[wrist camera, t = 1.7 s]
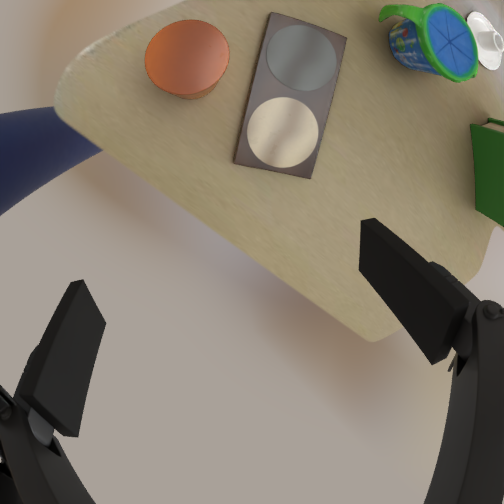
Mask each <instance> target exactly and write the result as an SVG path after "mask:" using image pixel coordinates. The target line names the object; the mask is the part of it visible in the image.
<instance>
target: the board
mask: <svg viewBox="0 0 504 504" xmlns="http://www.w3.org/2000/svg"><path fill="white" fill-rule="evenodd" d="M346 40H347V38H346V37H344V36H342V35H339V34H337V33H334V32H332V31H329V30H327V29H324V28H321V27H318V26H316V25H313V24H310V23H307V22H304V21H301V20H298V19H295V18H292V17H288V16H285V15H281V14H278V13H274V12H271V13H270V14H269V17H268V20H267V24H266V28H265V31H264V35H263V39H262V43H261V46H260V50H259V54H258V58H257V62H256V66H255V70H254V74H253V78H252V82H251V86H250V90H249V94H248V98H247V102H246V107H245V111H244V115H243V120H242V124H241V128H240V133H239V137H238V142H237V146H236V151H235V155H234V160H233V162H234V164H238V165H244V166H249V167H254V168H260V169H265V170H270V171H275V172H280V173H285V174H289V175H294V176H298V177H303V178H307V179H311V176H312V173H313V169H314V166H315V162H316V158H317V155H318V151H319V148H320V144H321V140H322V136H323V133H324V129H325V125H326V121H327V118H328V114H329V110H330V106H331V102H332V98H333V94H334V90H335V86H336V82H337V78H338V74H339V70H340V66H341V62H342V57H343V53H344V49H345V44H346Z"/></svg>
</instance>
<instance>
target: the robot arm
mask: <svg viewBox="0 0 504 504" xmlns="http://www.w3.org/2000/svg"><path fill="white" fill-rule="evenodd" d="M359 271H360V272H361V273H362V275H363V276H364V277H365V278H366V279H367V281H368V282H369V283H370V284H371V286H372V287H373V288H374V289H375V291H376V292H377V293H378V294H379V295H380V297H381V298H382V299H383V301H384V302H385V303H386V304H387V306H388V307H389V308H390V309H391V311H392V312H393V313H394V315H395V316H396V317H397V318H398V320H399V321H400V322H401V324H402V325H403V326H404V327H405V329H406V330H407V332H408V333H409V334H410V336H411V337H412V338H413V340H414V341H415V342H416V344H417V345H418V346H419V348H420V349H421V351H422V352H423V353H424V355H425V356H426V358H427V359H428V360H429V362H430V363H431V365H433V364H436V363H437V362H439V361H441V360H443V359H445V358H447V356H448V354H449V352H450V350H451V348H452V347H453V349H454V350H455V351H456V354H455V356H454V358H453V360H452V362H451V364H450V366H449V369H448V372H450V371H451V369H452V367H453V376H452V385H451V393H450V401H449V407H448V413H447V419H446V424H445V430H444V434H443V439H442V444H441V448H440V452H439V456H438V460H437V464H436V467H435V471H434V474H433V478H432V481H431V484H430V487H429V490H428V493H427V496H426V499H425V501H424V504H502V500H503V496H504V308H502V307H501V305H499V304H498V303H496V302H494V301H491V300H484V301H480V300H479V299H478V298H477V297H476V296H475V295H474V294H473V293H471V292H470V291H469V290H468V289H467V288H466V287H465V286H464V285H463V284H462V283H461V282H460V281H458V279H457V278H455V277H454V276H453V275H451V273H450V272H449V271H448V270H447V269H445V268H444V267H443V266H441V265H439V264H437V263H435V262H433V261H432V262H427V261H426V260H425V259H424V258H423V257H422V256H421V255H419V254H418V253H417V252H416V251H415V250H414V249H412V248H411V247H410V246H409V245H408V244H406V243H405V242H404V241H403V240H402V239H400V238H399V237H398V236H397V235H396V234H394V233H393V232H392V231H391V230H389V229H388V228H387V227H386V226H384V225H383V224H382V223H381V222H379V221H378V220H377V219H376V218H371V219H366V220H361V232H360V257H359ZM105 325H106V322H105V320H104V318H103V316H102V314H101V313H100V311H99V309H98V307H97V306H96V303H95V302H94V300H93V298H92V296H91V294H90V292H89V290H88V288H87V286H86V284H85V282H84V280H78V281H74V282H71V283H70V285H69V286H68V288H67V290H66V292H65V293H64V295H63V297H62V299H61V301H60V303H59V305H58V306H57V309H56V311H55V312H54V314H53V316H52V318H51V320H50V322H49V324H48V326H47V328H46V330H45V332H44V334H43V337H42V339H41V341H40V343H39V345H38V346H37V347H36V348H35V349H34V350H33V352H32V353H31V354H30V357H29V359H28V361H27V365H26V366H25V368H24V373H22V376H21V379H20V381H19V383H18V386H17V388H16V391H15V394H14V397H13V398H12V397H11V396H10V395H9V394H8V392H7V391H6V390H5V389H4V388H3V387H2V386H1V385H0V457H1V460H2V462H1V463H0V504H96V503H95V502H94V501H93V499H92V498H91V496H90V495H89V493H88V492H87V490H86V488H85V487H84V485H83V484H82V482H81V481H80V479H79V477H78V476H77V474H76V472H75V471H74V469H73V467H72V466H71V464H70V462H69V460H68V458H67V456H66V454H65V453H64V451H63V449H62V447H61V445H60V443H59V441H58V439H57V438H56V437H55V436H54V435H53V433H54V429H56V430H57V431H58V432H59V433H60V434H62V435H63V436H68V437H78V436H79V429H80V425H81V420H82V414H83V410H84V405H85V400H86V396H87V392H88V387H89V383H90V379H91V375H92V371H93V367H94V364H95V360H96V356H97V353H98V349H99V346H100V342H101V339H102V336H103V332H104V329H105Z"/></svg>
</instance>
